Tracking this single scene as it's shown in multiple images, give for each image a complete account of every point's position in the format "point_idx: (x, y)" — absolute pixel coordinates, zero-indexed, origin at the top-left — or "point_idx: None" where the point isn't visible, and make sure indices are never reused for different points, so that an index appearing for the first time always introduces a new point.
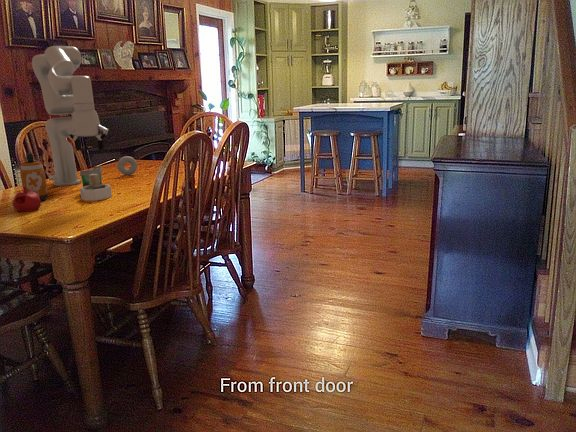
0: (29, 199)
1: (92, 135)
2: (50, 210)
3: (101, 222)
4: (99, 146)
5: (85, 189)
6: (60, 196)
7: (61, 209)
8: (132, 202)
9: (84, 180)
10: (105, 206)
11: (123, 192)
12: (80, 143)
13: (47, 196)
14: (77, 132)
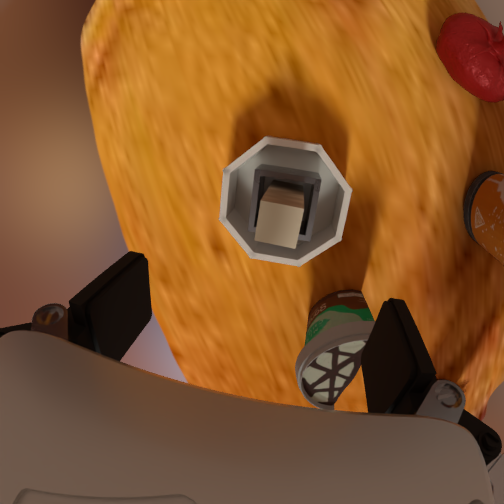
0: (458, 14)
1: (53, 336)
2: (385, 19)
3: None
4: (113, 267)
5: (336, 219)
6: (432, 246)
7: (351, 21)
8: (124, 100)
9: (361, 313)
10: (195, 43)
11: (209, 263)
12: (370, 399)
13: (466, 207)
14: (412, 484)
